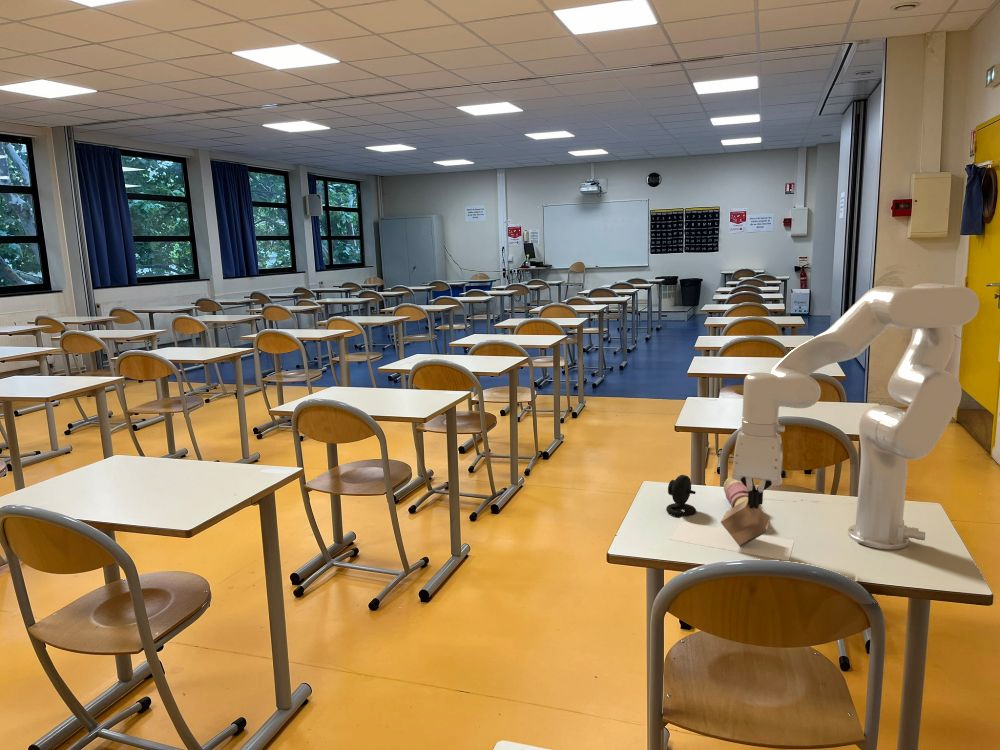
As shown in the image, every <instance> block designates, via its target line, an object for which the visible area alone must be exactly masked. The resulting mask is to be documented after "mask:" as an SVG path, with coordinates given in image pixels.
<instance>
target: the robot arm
mask: <svg viewBox="0 0 1000 750" xmlns="http://www.w3.org/2000/svg"><path fill="white" fill-rule="evenodd" d="M979 310H980V301H979V297H978V295H977V294H976V293H975V291H974V290H972V289H971V288H969V287H967V286H963V285H958V284H957V285H955V284H944V283H932V282H931V283H928V282H926V283H925V282H924V283H918V284H915V285H913V286H912V287H904V286H903V287H901V286H894V285H893V286H890V285H878V286H874V287H873V288H870V289H869V290H868V291H867V292H865V293H864V294H863V295H862V296H861V297H859V299H858V300H857V301H856V302H854V304H852V306H850V307H849V309H848V310H847V311H845V313H844V314H842V316H840V317H839V318H838V319H837V320H836V321H835V322H834V323H833V324H832V325H831V326H829V328H827V329H826V330H825V331H823V332H821V333H819V334H817V335H815V336H814V337H812V338H811V339H808V340H806V341H805V342H803V343H801V344H800V345H798V346H796V347H795V348H793V349H792V350H791V351H789V352H788V353H787V354H786V355H785V356H784V357H782V359H781V360H780V361H779V362H778V363H776V365H775V366H773V368H772V369H771V370H770V372H752V373H751V372H750V373H748V374H746V376H745V377H744V379H743V394H742V395H743V396H742V414H741V415H742V416H741V430H739V431H738V433H737V437H736V440H735V446H734V453H733V454H734V455H733V462H732V473H731V477H732V478H733V479H735V480H738V481H741V482H742V483H743V484H744V485H745V486H746V488H747V490H748V503H751V504H750V508H755V509H758V507H759V506H760V505H763V502H764V500H763V499H764V491H765V490H767V489H769V488H770V487H772V486H773V487H774V486H781V485H782V483H783V480H782V471H783V441H782V436H781V434H779V433H781V432H783V433H784V432H785V431H786V430H785V429H786V427H785V425H782V424H780V423H779V411H780V409H779V408H780V407H783V408H789V409H807V408H810V407H812V406H814V405H815V404H816V403H817V402H819V400H820V398H821V394H822V390H821V386H820V384H819V383H818V381H817V380H816V379H815V378H813V377H812V376H810V375H812V374H813V373H814V372H816V371H817V370H819V369H821V368H823V367H826V366H828V365H833V364H836V363H841V362H846V361H848V360H853V359H854V358H856V357H859V356H860V355H861V354H862V353H863V352H864V351H865V350H866V349H867V348H868V347H869V346H870V345H871V344H872V343H873V342H875V340H877V339H878V337H880V335H882V334H883V333H885V331H886V330H887V329H889V328H890V327H892V328H897V329H904V330H909V329H910V330H911V329H912V331H911V332H912V333H911V337H910V338H911V339H910V341H909V343H908V346H907V347H906V350H905V351H904V354H903V355H902V357H901V359H900V360H899V362H898V364H897V365H896V366H895V367H896V368H895V369H894V371H893V373H892V374H891V377H890V379H889V381H888V383H887V392H888V394H889V396H890V397H891V398H892V399H893V400H894V401H896V402H898V403H900V404H902V405H906V406H908V407H907V409H906V410H903V409H901V408H898V407H896V406H892V405H888V404H878V405H873V406H871V407H869V408H868V409H866V410H865V411H864V412H863V414H862V415H861V417H860V420H859V425H858V434H859V442H860V467H859V476H858V477H859V479H858V489H857V491H858V492H857V500H856V501H857V503H856V517H855V524H853V525H851V526H849V527H848V529H847V536H848V537H849V538H850V539H851V540H853V541H855V542H857V544H860V545H863V546H865V547H870V548H874V549H879V550H900V549H904V548H906V547H908V546H909V542H910V539H915V540H919V541H926V531H921V530H920V531H919V527H918V528H917V527H911V526H909V527H908V526H907V525H906V524H905V521H904V512H905V511H904V510H905V501H906V500H905V499H906V489H907V482H908V481H907V478H908V472H909V471H908V470H909V469H908V460H914V461H915V460H919V459H920V460H921V459H922V458H924V457H926V456H928V455H929V454H930V453H931V452H932V450H934V448H935V447H936V445H937V444H938V443H939V441H940V439H942V438H941V437H942V436H943V434H944V432H945V430H946V429H947V427H948V425H949V424H950V422H951V420H952V419H953V418H954V415H955V413H956V412H957V409H958V408H959V405H960V403H961V399H962V394H963V391H962V385H961V383H960V381H959V379H958V378H957V377H956V376H955V375H954V374H953V373H951V372H950V371H947V370H945V369H946V367H947V366H948V363H949V361H950V359H951V357H952V355H953V352H954V351H955V350H954V349H955V343H956V341H955V340H956V339H955V332H954V331H955V330H954V327H960V326H964V325H966V324H968V323H969V322H971V321H973V319H974V318H975V317H976V316H977V314H978V312H979ZM754 479H756V480H759V483H758V486H757V487H756V486H755V480H754ZM754 506H755V507H754Z"/></svg>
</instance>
